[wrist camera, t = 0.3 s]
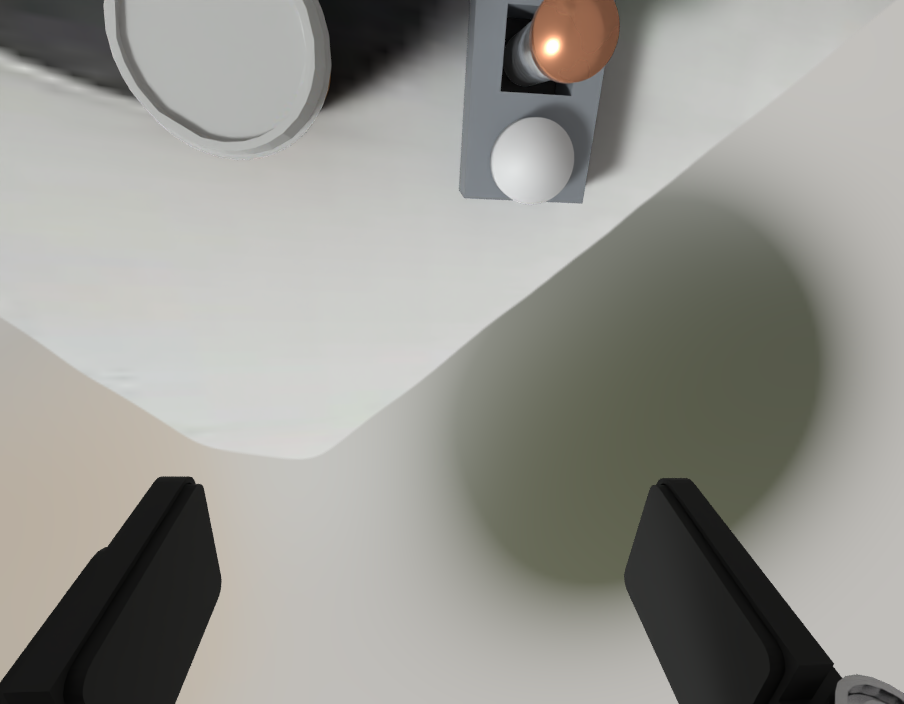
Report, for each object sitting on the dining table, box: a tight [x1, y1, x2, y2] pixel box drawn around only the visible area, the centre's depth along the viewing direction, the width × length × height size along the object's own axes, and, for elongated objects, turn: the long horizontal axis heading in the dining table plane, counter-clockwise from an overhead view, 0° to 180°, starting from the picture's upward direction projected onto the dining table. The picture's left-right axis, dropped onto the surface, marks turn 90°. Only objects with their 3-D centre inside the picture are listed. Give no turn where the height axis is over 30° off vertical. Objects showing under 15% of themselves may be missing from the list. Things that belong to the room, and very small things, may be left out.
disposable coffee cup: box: [104, 0, 331, 160], centre depth 26 cm, size 10×10×12 cm
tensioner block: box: [459, 0, 616, 205], centre depth 31 cm, size 12×8×6 cm, turn 177°
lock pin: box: [503, 0, 620, 86], centre depth 27 cm, size 4×4×11 cm
